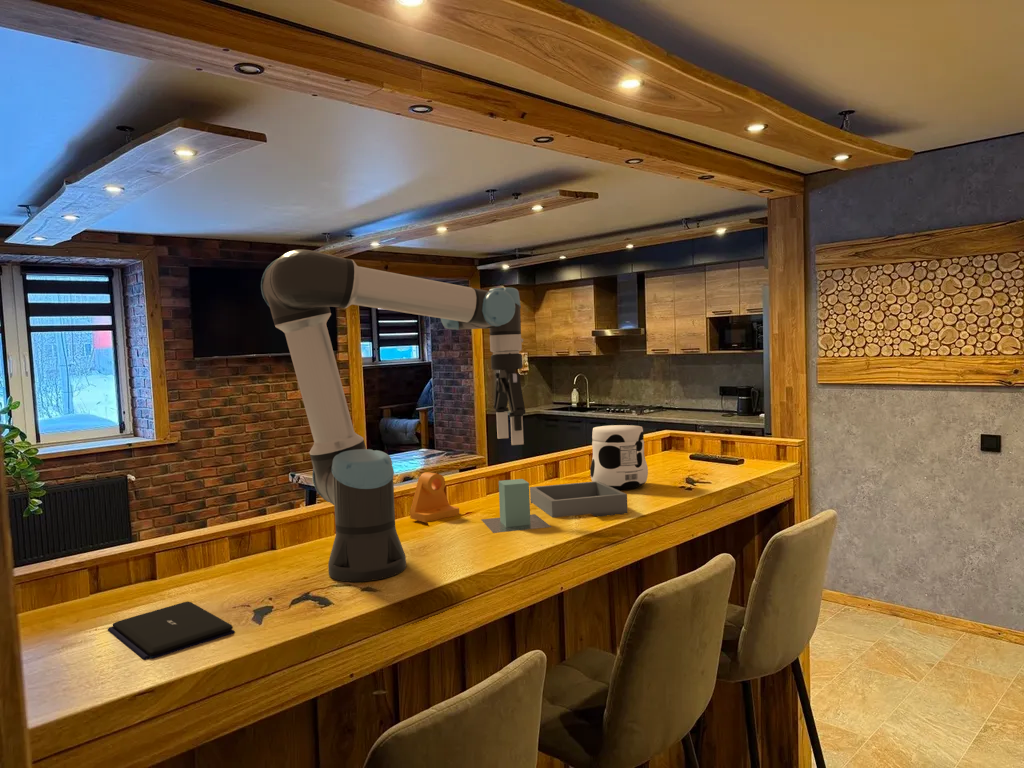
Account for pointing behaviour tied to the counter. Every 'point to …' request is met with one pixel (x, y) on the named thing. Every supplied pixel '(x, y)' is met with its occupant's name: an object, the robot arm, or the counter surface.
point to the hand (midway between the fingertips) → (510, 441)
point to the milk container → (619, 456)
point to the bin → (579, 499)
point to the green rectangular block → (514, 502)
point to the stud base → (497, 526)
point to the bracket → (431, 499)
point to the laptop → (169, 630)
